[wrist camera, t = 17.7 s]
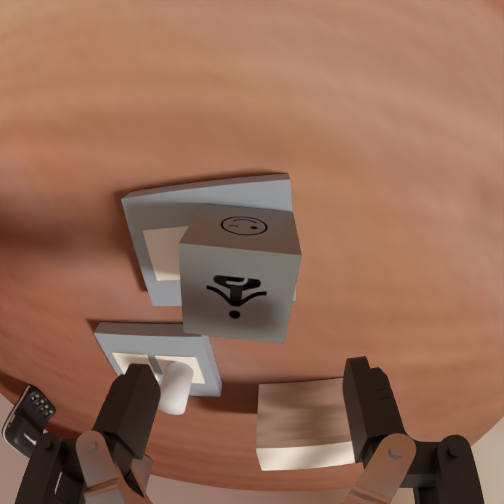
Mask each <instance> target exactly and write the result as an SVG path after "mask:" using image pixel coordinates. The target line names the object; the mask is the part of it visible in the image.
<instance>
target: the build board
mask: <svg viewBox="0 0 504 504" xmlns="http://www.w3.org/2000/svg"><path fill="white" fill-rule="evenodd" d="M121 201H122V205H123V209H124V213H125V217H126V220H127V224H128V228H129V231H130V235H131V238H132V242H133V245H134V249H135V252H136V255H137V259H138V262H139V265H140V268H141V271H142V275H143V278H144V281H145V284H146V287H147V290H148V293H149V295H150V298H151V301H152V304H153V306H182V302H181V285H180V265H179V242H180V240H181V238H182V237H183V235H184V233H185V232H186V230H187V228H188V227H189V225H190V224H191V222H192V220H193V219H194V217H195V215H196V214H197V212H198V211H199V209H200V207H201V206H202V204H203V203H205V204H217V205H228V206H239V207H250V208H260V209H270V210H279V211H288V212H292V200H291V185H290V177H289V174H288V173H287V174H273V175H260V176H249V177H239V178H229V179H219V180H211V181H202V182H194V183H186V184H179V185H172V186H165V187H158V188H152V189H145V190H139V191H133V192H130V193H129V194H127V195H126V196H125V197H123V198H122V199H121ZM293 301H296V287H295V292H294V297H293Z"/></svg>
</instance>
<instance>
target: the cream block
mask: <svg viewBox="0 0 504 504" xmlns="http://www.w3.org/2000/svg"><path fill="white" fill-rule="evenodd" d="M342 383H343V378H337V379H327V380H317V381H305V382H291V383H273V384H259V396H258V416H257V434H256V451H257V455H258V459H259V462H260V466H261V469H262V470H293V469H307V468H318V467H328V466H336V465H343V464H350V463H355V459H354V453H353V447H352V441H351V435H350V429H349V424H348V418H347V413H346V408H345V403H344V398H343V390H342Z"/></svg>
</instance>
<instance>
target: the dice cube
mask: <svg viewBox="0 0 504 504" xmlns="http://www.w3.org/2000/svg"><path fill="white" fill-rule="evenodd" d="M301 256H302V255H301V249H300V244H299V239H298V234H297V230H296V225H295V220H294V215H293V212H288V211H279V210H270V209H260V208H250V207H239V206H228V205H217V204H205V203H203V204H202V206H201V207H200V209H199V211H198V212H197V214H196V215H195V217H194V219H193V220H192V222H191V224H190V225H189V227H188V228H187V230H186V232H185V233H184V235H183V237H182V238H181V240H180V242H179V265H180V285H181V302H182V316H183V328H184V333H191V334H198V335H206V336H214V337H222V338H231V339H240V340H250V341H261V342H272V343H284V339H285V335H286V330H287V326H288V321H289V316H290V312H291V307H292V302H293V297H294V292H295V287H296V282H297V277H298V272H299V267H300V262H301Z"/></svg>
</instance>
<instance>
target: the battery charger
mask: <svg viewBox="0 0 504 504" xmlns="http://www.w3.org/2000/svg"><path fill="white" fill-rule="evenodd" d="M55 412H56V409H55V408H54V407H53V405H52V404H51V403H50V402H49V401H48V399H47V398H46V397H45V396H44V395H43V394H42V393H41V392H40V391H39V390H38V389H36V388H34V387H32V386H30V385H27V386H26V388H25V389H24V391H23V393H22V395H21V396H20V398H19V400H18V401H17V403H16V404H15V406H14V407H13V409H12V411H11V412H10V414H9V416H8V418H7V420H6V422H5V424H4V426H3V428H2V436H3V438H4V439H5V441H6V442H7V443H8V444H10V445H11V446H12V447H13V448H14V449H15V450H16V451H18V452H19V453H20V454H22V455H24V456H27V457H28V458H30V457H31V455H32V452H33V450H34V447H35V445H36V442H37V440H38V438H39V437H40V436H41V435H42V434H43V431H44V428H45V426H46V424H47V422H48V420H49V419H50V418H51V417H52V416H53V415H54V414H55Z"/></svg>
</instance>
